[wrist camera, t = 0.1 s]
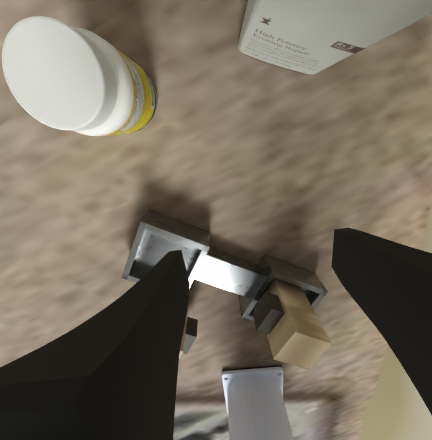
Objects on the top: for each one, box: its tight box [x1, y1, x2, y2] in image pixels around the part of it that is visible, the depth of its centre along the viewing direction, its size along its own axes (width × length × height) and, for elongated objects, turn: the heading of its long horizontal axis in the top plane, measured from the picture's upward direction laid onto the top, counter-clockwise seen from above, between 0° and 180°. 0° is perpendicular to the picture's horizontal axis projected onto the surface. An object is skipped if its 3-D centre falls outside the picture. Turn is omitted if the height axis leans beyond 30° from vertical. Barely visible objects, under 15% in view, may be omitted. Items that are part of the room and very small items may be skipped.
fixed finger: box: [253, 279, 332, 369], centre depth 20 cm, size 4×3×6 cm
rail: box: [122, 209, 328, 321], centre depth 22 cm, size 18×6×3 cm, turn 66°
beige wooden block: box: [179, 300, 198, 358], centre depth 22 cm, size 4×3×6 cm
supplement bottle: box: [2, 16, 157, 136], centre depth 13 cm, size 5×5×8 cm
